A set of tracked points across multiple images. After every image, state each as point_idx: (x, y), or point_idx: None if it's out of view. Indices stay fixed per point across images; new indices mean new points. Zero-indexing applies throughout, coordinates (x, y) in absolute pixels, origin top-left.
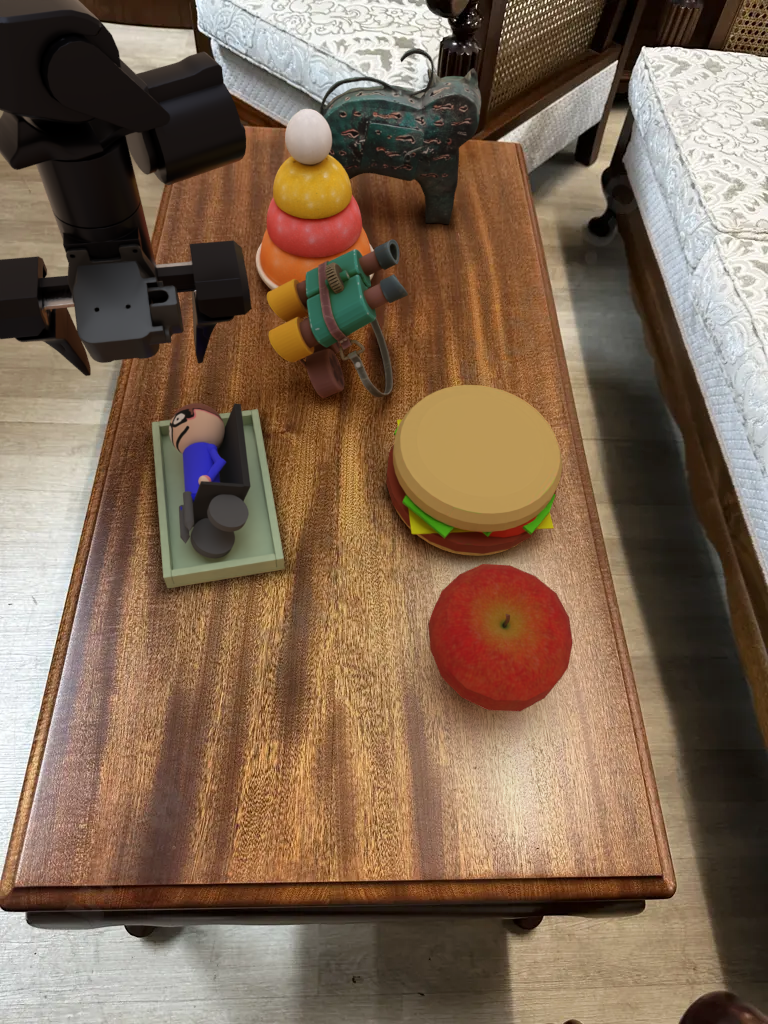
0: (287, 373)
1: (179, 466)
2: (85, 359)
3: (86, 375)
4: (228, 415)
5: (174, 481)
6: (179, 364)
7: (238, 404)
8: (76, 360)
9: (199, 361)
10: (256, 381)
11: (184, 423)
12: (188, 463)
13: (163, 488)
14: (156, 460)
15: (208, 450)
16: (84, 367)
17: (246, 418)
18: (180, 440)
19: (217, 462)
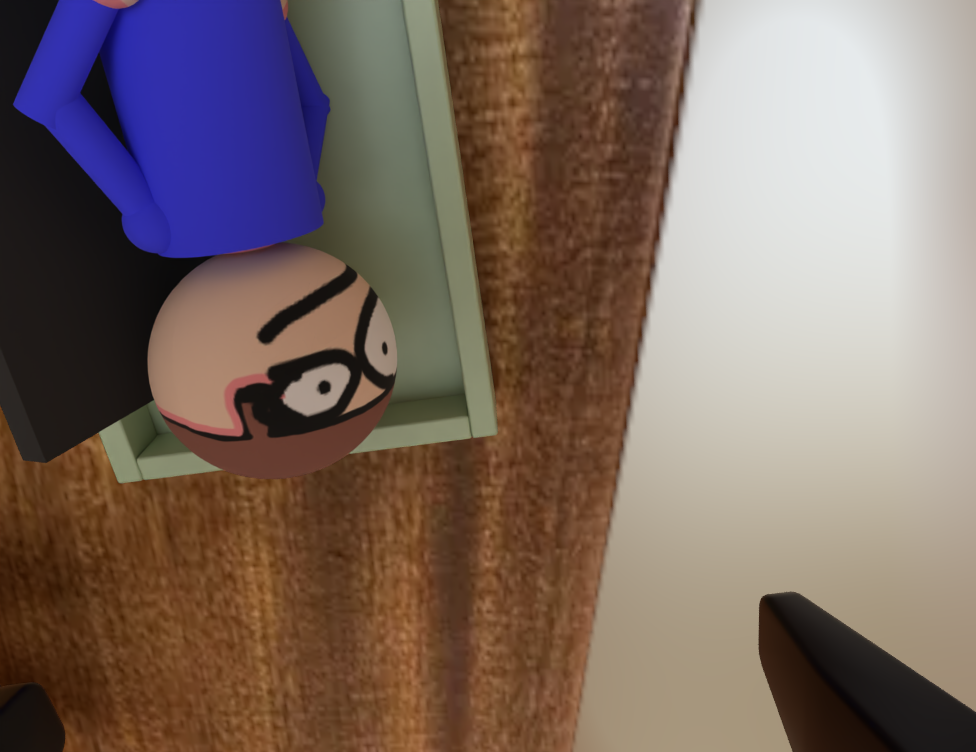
0: (98, 624)
1: (393, 259)
2: (817, 726)
3: (790, 594)
4: None
5: (404, 189)
6: (443, 655)
7: (28, 456)
8: (923, 730)
9: (4, 698)
10: (192, 597)
11: (281, 357)
12: (250, 138)
13: (423, 118)
14: (464, 261)
15: (154, 207)
16: (825, 657)
17: (161, 448)
18: (318, 287)
19: (47, 89)
